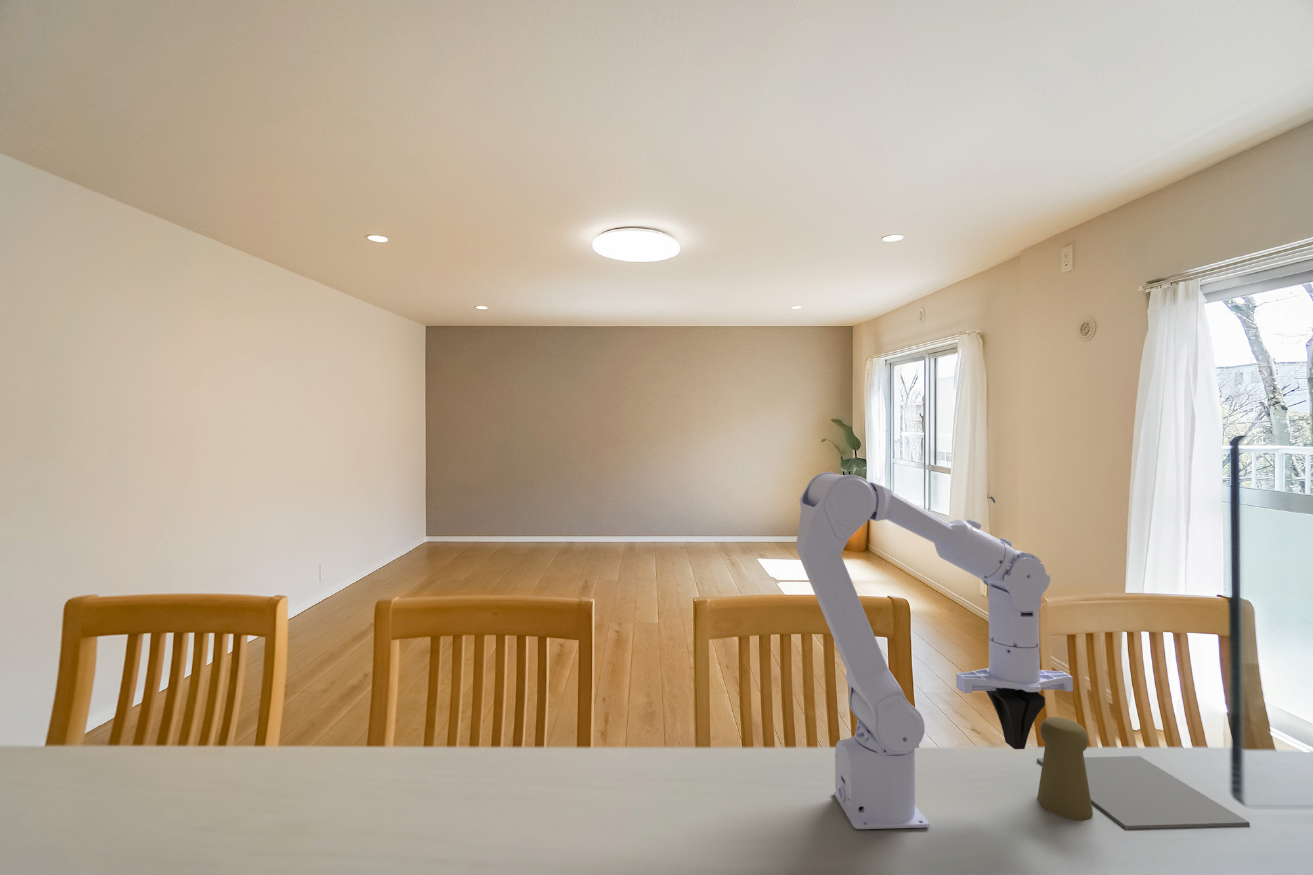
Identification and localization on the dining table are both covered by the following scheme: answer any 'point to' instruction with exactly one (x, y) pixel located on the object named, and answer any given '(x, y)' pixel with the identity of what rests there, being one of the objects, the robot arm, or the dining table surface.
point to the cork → (1064, 769)
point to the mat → (1150, 796)
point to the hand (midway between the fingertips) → (1014, 745)
